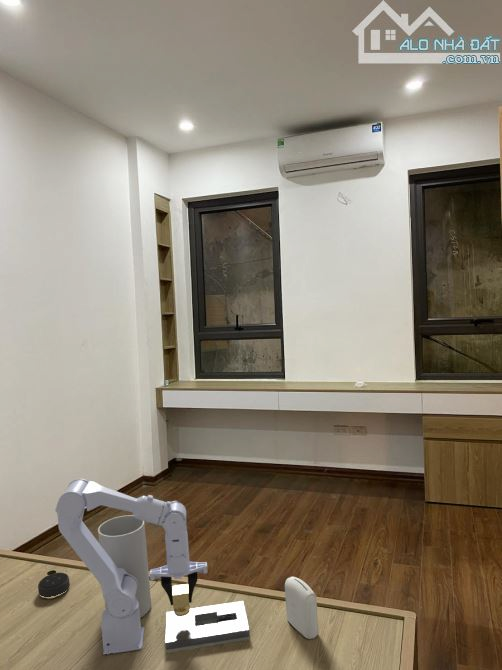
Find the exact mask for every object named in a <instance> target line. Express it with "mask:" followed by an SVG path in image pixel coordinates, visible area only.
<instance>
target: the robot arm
mask: <svg viewBox="0 0 502 670" xmlns="http://www.w3.org/2000/svg"><path fill="white" fill-rule="evenodd" d="M101 506H103V507H108V508H112V509H116V510H121V511H125V512H130V513H132V515H133V516H135V518H136V519H139V520H143V521H144V522H146V523H150V524H154V525H158V526H161V527H162V528H163V530H164V531H165V535H164V541H165V551H166V552H165V554H166V555H165V556H166V565H163V566H160V567H156V568H151V569H150V570H149V582H150V581H155V580H157V579H160V585H161V588H162V589H163V590H164V591H165V593H166V594H167V595H166V596H167V597H168V600H169V603H170V606H173V596H172V594H173V580H172V578H174V580H180V579H183V578H184V577H185V576H187V584H188V589H189V604H190V603H193V594H194V590H195V587H196V585H197V582H198V574H201V573H203V574H208V573H209V572H208V562H207V561H204V562H203V561H202V562H198V561H190V551H189V549H190V548H189V536H188V531H187V527H188V526H187V509H186V506H185V505H184V504H183V503H181V502H179V501H178V500H173V501H163V500H161V499H160V500H159V499H157V498H154V495H152V494H151V495H150V494H148V495H147V496H146V495H141V496H140V497H137V498H136V497H133V496H130V495H128V494H125V493H123V492H119V491H117V490H114V489H111V488H108V487H105V486H103V485H101V484H99V483H98V482H96V481H92V480H87V479H85V478H75V479H73V480H72V481H71V482H70V483H69V484H68V486H67V488H66V489H65V491H64V492H63V494H61V495H60V496H59V499H58V501H57V504H56V507H55V512H56V513H57V525H58V530H59V532H60V534H61V535H62V537H63V538H64V539H65V540H66V541H67V543H68V544H69V546H70V547H71V548H72V549H73V551H74V552H75V553H76V555H77V556H78V557H79V558H80V560H81V561H82V562H83V564H84V565H85V567H87V569H88V571H90V573H91V574H92V575H93V576H94V578H95V579H96V580H97V582H98V583H99V584H100V586H101V587H100V588H101V591H102V597H103V600H104V602H105V601H106V602H107V605H108V609H104V610H102V615H101V623H100V624H101V636H102V650H103V651H102V653H103V654H102V655H104V654H107V655H111V654H110V653H113V654H119V653H125V652H131V651H137V650H141V649H143V643H144V634H145V627H144V626H141V618H140V612H139V602H138V600H137V599H136V597H135V595H136V591H137V588H138V582H137V579H136V578H135V577H134V576H132V575H130V574H128V573H127V572H126V571H125V570H124V569H123V568H118V567H117V566H116V565H115V564H114V562H113V561H112V560H111V558H110V557H109V556H108V554H107V553H106V552H105V550H104V549H103V548H102V546H101V545H100V544H99V540H97V539H96V537H95V536H94V535H93V533H92V532H91V530H90V529H89V528H88V526H87V525H86V524H85V523H84V522H83V518H84V513H85V511H86V512H89V511H92V510H94V509H96V508H98V507H101ZM85 508H86V510H85ZM109 651H110V652H109Z"/></svg>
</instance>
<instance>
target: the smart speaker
mask: <svg viewBox="0 0 502 670" xmlns="http://www.w3.org/2000/svg"><path fill="white" fill-rule="evenodd" d="M69 586H70V587H71V585H70V576H69V575H68V574H66V573H64V572H53V573H51V574H48V575H46V576H44V577H43V578H42V579H41V580H39V582H38V585H37V589H38V595H39V594H40V595H41V596H44V597H51V596H56V595H58V594H61V593H63V592H65V591H66V590H67V589H68V588H69V589H70V587H69ZM69 589H68V590H69Z"/></svg>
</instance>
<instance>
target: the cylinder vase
mask: <svg viewBox="0 0 502 670" xmlns="http://www.w3.org/2000/svg"><path fill="white" fill-rule="evenodd" d="M97 533H98V542H99V544H100V545H101V546H102V548H103V549H104V550H105V552H106V553H107V554H108V556H109V557H110V558H111V560H112V561H113V562H114V564H115V565H116V566H117V567H118V568H123V569H124V570H125V571H126V572H127V573H128V574H130V575H132V576H134V577H135V578H136V579H137V582H138V588H137V591H136V595H135V597H136V599H137V600H138V602H139V612H140V619H142V618H143V617H145V614H146V615H147V614H148V612H149V611H150V609H151V606H152V596H151V595H152V594H151V585H150V583H151V582H150V570H149V562H148V551H147V548H148V547H147V539H146V527H145V521H143V520H139V519H136V518H135V516H134V514H131V515H121V516H115V517H112V518H110V519H108V520H106V521H104V522H103V523H101V524H100V525H99V527H98V528H97ZM104 606H105V609H104V610H106V609H108V605H107V602H106V601H105V600H104ZM141 617H142V618H141Z"/></svg>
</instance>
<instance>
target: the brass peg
mask: <svg viewBox="0 0 502 670" xmlns="http://www.w3.org/2000/svg"><path fill="white" fill-rule="evenodd" d="M172 590H173V594H172V596H173V605H172V606H173V607H172V608H173V611H174V613H175V615H177V616H184V615H187V614H188V613H189V612H190V609H191V606H190V603H189V587H188V583H186V584H178V585H172Z"/></svg>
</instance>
